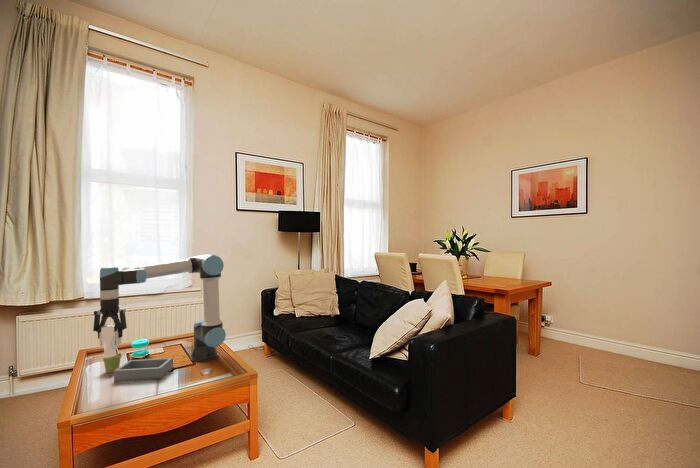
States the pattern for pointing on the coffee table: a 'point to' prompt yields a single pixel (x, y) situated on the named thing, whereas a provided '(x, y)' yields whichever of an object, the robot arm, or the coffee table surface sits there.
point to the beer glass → (109, 340)
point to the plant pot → (112, 363)
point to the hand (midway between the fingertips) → (110, 344)
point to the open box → (143, 370)
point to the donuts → (140, 344)
